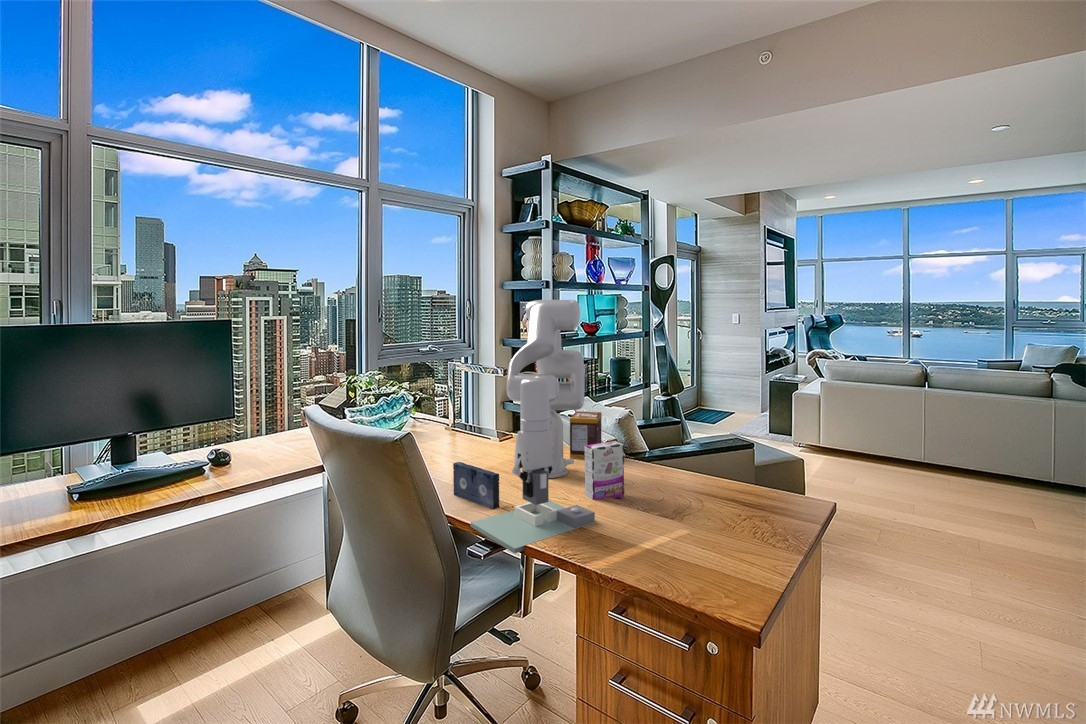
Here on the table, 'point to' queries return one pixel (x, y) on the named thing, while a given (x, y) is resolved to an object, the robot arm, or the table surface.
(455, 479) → the vhs cassette tape
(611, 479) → the candy bar box
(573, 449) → the supplement box
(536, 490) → the plug
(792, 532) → the table surface
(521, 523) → the board
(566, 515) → the grey button box
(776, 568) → the table surface
